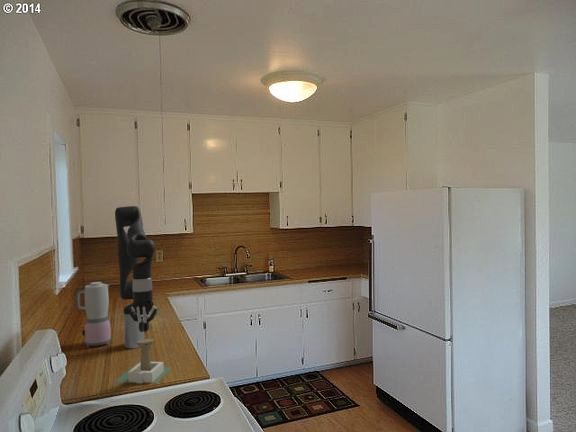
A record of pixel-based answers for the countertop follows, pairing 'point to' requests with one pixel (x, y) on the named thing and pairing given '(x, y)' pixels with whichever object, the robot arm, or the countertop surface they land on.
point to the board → (125, 379)
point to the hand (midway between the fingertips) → (144, 331)
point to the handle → (145, 353)
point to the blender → (96, 314)
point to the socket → (146, 373)
